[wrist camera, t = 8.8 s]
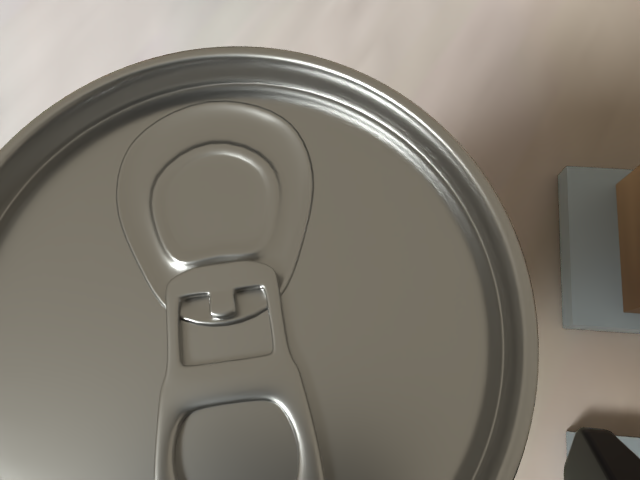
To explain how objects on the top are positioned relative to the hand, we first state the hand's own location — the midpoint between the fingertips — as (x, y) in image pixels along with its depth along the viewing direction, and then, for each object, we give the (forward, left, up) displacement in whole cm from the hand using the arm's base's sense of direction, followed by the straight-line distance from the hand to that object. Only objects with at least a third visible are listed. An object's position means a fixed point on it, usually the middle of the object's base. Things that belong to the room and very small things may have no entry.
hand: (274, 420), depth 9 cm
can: (+1, +1, -8) cm, 8 cm away
